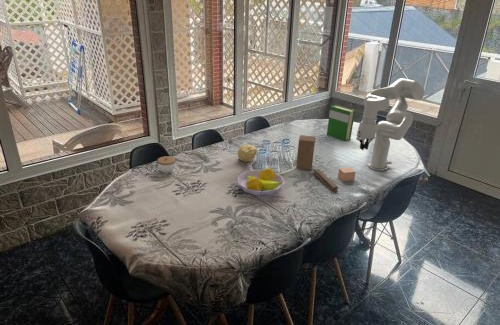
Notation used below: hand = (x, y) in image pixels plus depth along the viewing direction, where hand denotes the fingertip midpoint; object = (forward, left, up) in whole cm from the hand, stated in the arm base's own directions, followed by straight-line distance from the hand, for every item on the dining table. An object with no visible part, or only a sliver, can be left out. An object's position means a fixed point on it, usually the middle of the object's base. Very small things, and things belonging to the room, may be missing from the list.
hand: (363, 148), depth 220 cm
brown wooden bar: (+24, +1, -19) cm, 31 cm away
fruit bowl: (+65, +1, -19) cm, 68 cm away
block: (+9, 0, -19) cm, 21 cm away
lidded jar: (+114, -35, -19) cm, 121 cm away
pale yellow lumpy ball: (+61, -40, -19) cm, 75 cm away
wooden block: (+27, -22, -19) cm, 40 cm away
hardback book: (-24, -66, -19) cm, 73 cm away
